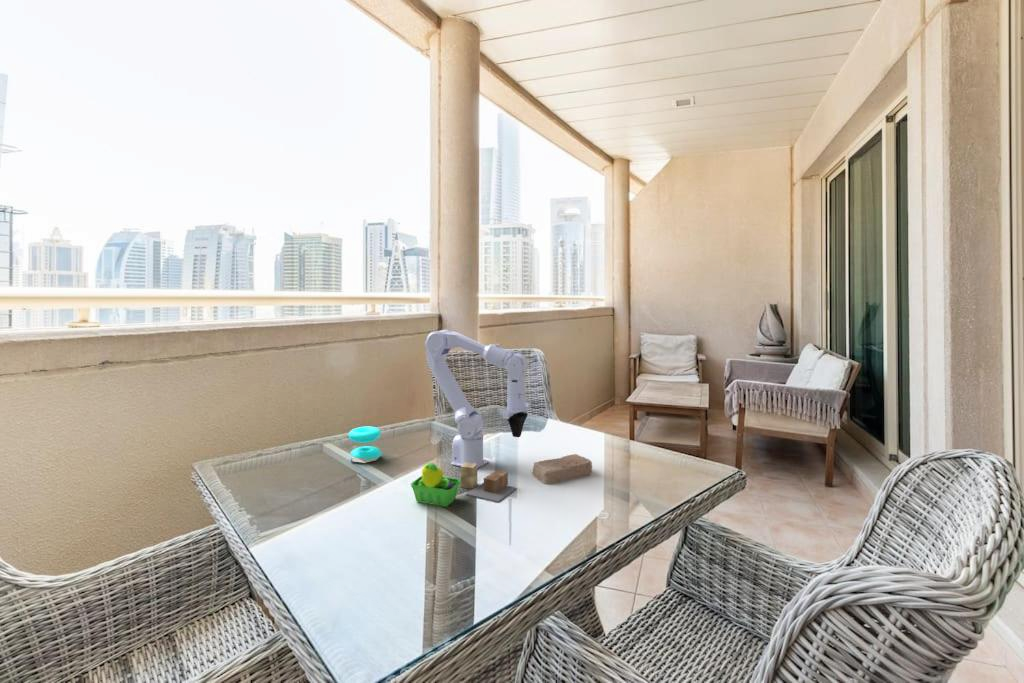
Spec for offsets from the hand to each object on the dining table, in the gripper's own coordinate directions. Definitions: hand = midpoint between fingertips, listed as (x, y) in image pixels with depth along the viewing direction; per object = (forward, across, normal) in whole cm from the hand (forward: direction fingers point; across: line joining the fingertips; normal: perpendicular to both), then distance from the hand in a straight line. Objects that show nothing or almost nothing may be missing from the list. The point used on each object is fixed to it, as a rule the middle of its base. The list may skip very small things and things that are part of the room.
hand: (516, 436), depth 153 cm
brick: (+10, +1, -15) cm, 18 cm away
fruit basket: (+10, -32, +7) cm, 34 cm away
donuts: (+10, -17, +47) cm, 51 cm away
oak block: (+10, -19, +5) cm, 22 cm away
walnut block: (+8, -14, -3) cm, 16 cm away
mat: (+10, -20, -3) cm, 23 cm away
